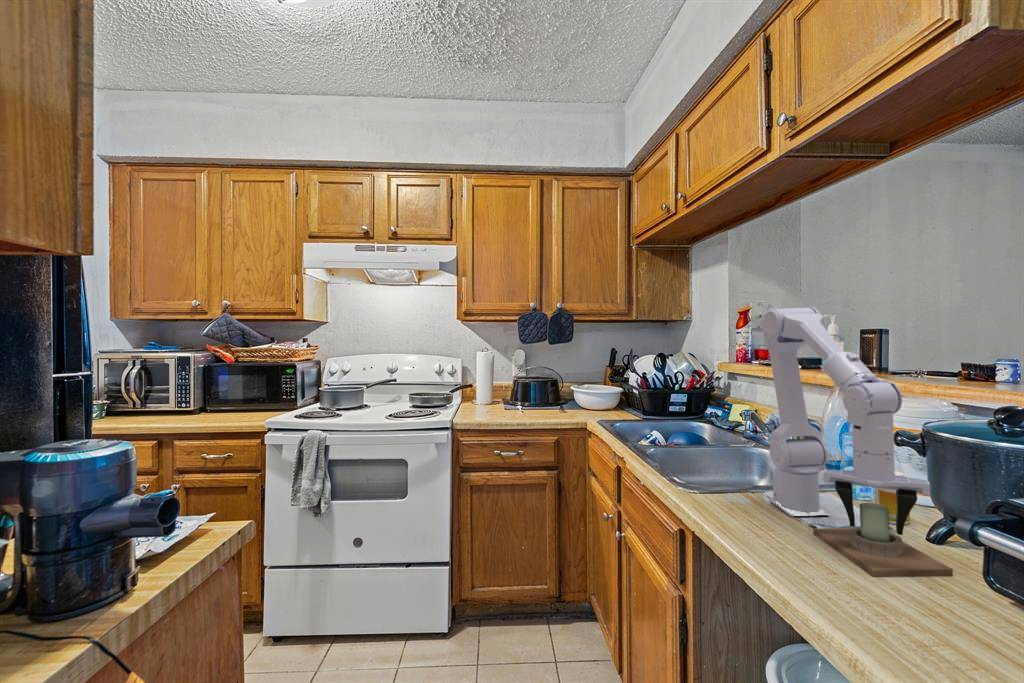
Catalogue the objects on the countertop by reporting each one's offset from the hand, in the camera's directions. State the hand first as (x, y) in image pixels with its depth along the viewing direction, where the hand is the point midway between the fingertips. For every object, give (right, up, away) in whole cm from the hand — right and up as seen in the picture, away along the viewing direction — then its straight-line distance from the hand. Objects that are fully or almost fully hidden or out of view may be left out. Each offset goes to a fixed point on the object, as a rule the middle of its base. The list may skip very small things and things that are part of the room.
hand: (875, 528), depth 81 cm
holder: (0, -4, 0) cm, 4 cm away
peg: (0, -3, 0) cm, 3 cm away
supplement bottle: (+14, -4, +13) cm, 20 cm away
